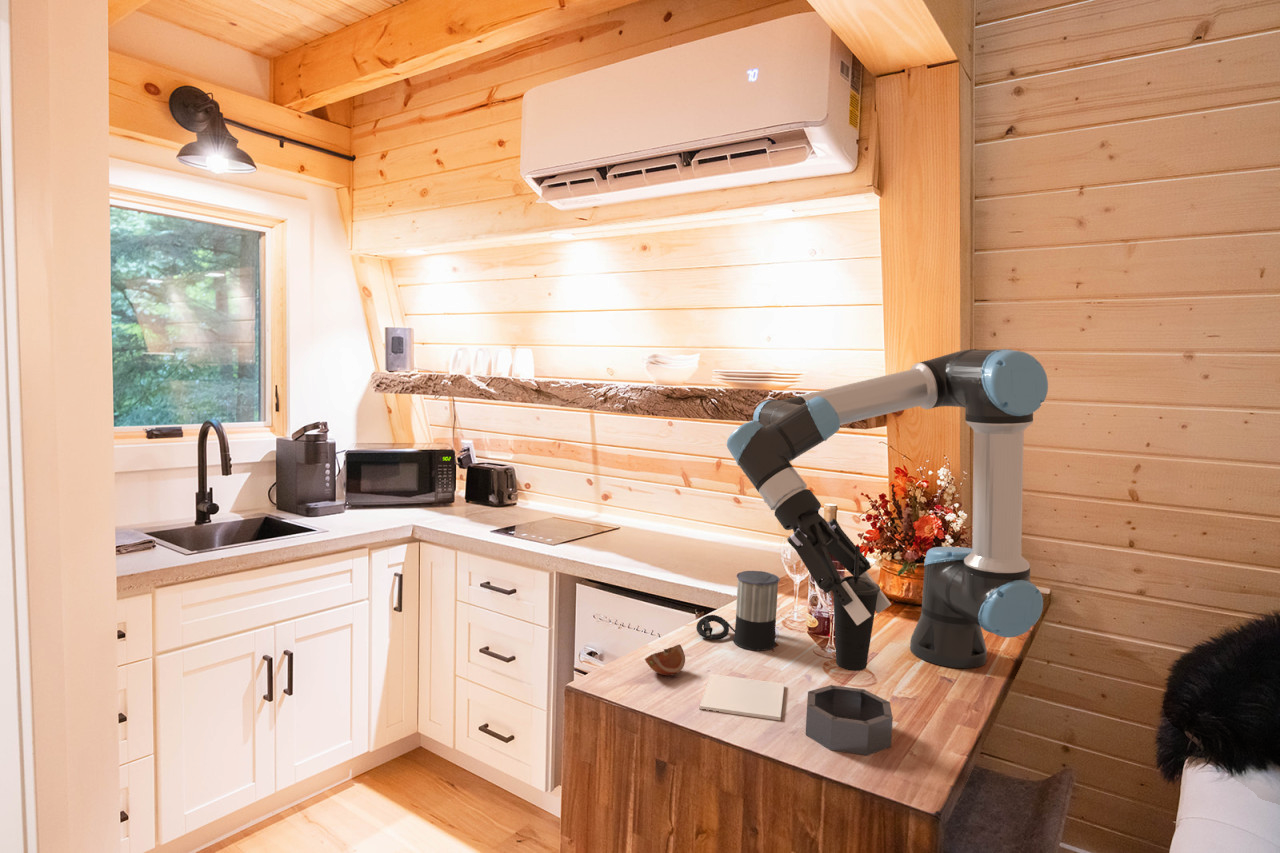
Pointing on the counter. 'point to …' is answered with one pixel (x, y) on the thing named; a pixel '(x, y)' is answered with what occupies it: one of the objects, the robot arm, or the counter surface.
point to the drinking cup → (848, 635)
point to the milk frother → (750, 612)
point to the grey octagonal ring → (849, 720)
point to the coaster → (743, 697)
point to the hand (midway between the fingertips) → (874, 614)
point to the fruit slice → (667, 661)
